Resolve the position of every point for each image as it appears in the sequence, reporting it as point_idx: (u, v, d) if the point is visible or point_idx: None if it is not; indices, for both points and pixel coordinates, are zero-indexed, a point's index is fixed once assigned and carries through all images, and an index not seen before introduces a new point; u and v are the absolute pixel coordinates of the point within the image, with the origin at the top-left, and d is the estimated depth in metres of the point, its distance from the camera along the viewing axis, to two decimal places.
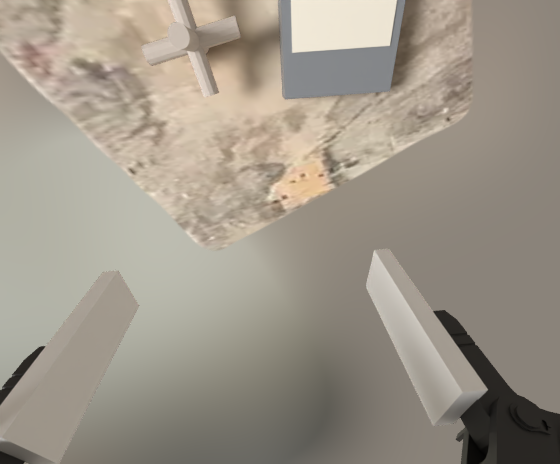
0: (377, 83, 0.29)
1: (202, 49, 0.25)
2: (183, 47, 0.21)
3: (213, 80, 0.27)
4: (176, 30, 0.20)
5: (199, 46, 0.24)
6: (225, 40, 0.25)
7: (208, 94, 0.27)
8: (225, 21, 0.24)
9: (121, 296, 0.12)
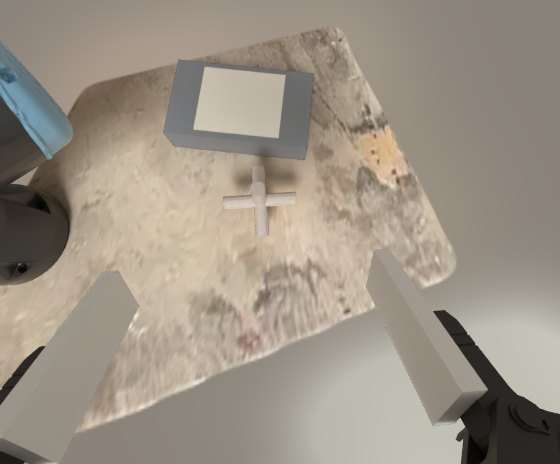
0: (307, 82, 0.38)
1: None
2: (264, 188, 0.29)
3: (286, 192, 0.34)
4: (254, 188, 0.29)
5: None
6: (263, 176, 0.34)
7: (294, 197, 0.33)
8: (253, 173, 0.34)
9: (121, 296, 0.12)
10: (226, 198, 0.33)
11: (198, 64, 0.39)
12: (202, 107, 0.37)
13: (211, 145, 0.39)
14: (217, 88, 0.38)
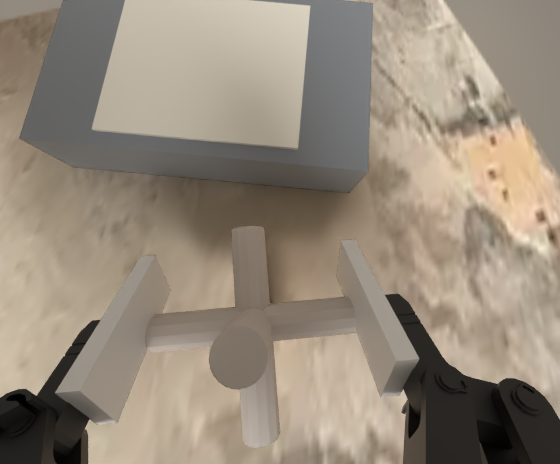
0: (359, 21, 0.17)
1: (270, 307, 0.12)
2: (265, 353, 0.07)
3: (325, 301, 0.12)
4: (226, 358, 0.07)
5: (264, 311, 0.12)
6: (263, 256, 0.13)
7: (353, 321, 0.11)
8: (235, 248, 0.12)
9: (158, 279, 0.13)
10: (156, 327, 0.11)
11: None
12: (117, 78, 0.16)
13: (146, 165, 0.17)
14: (154, 36, 0.16)
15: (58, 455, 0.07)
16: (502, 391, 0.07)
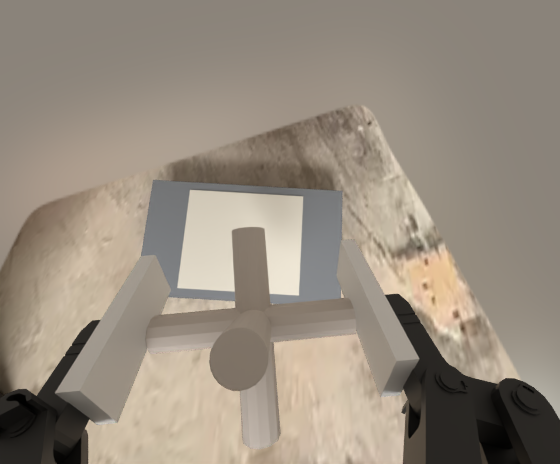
0: (333, 204, 0.27)
1: (270, 308, 0.12)
2: (265, 354, 0.07)
3: (325, 302, 0.12)
4: (227, 360, 0.07)
5: (265, 312, 0.12)
6: (263, 257, 0.13)
7: (353, 322, 0.11)
8: (236, 249, 0.12)
9: (158, 279, 0.13)
10: (157, 328, 0.11)
11: (181, 185, 0.28)
12: (189, 253, 0.26)
13: None
14: (208, 223, 0.27)
15: (58, 455, 0.07)
16: (502, 391, 0.07)
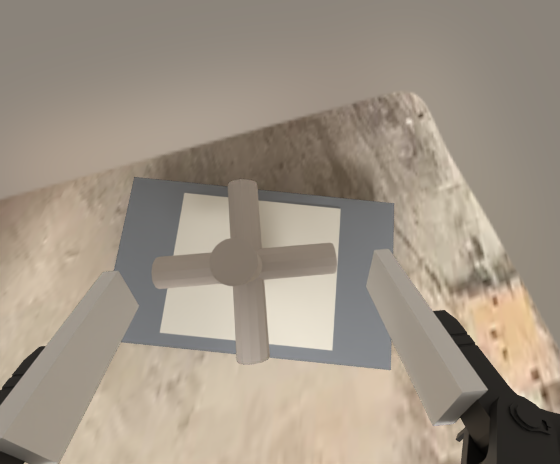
0: (382, 222, 0.20)
1: (261, 249, 0.14)
2: (255, 259, 0.09)
3: (310, 245, 0.14)
4: (223, 262, 0.09)
5: (256, 252, 0.13)
6: (256, 206, 0.14)
7: (333, 259, 0.13)
8: (231, 198, 0.14)
9: (121, 296, 0.12)
10: (161, 264, 0.13)
11: (173, 186, 0.20)
12: None
13: None
14: (208, 240, 0.19)
15: None
16: None
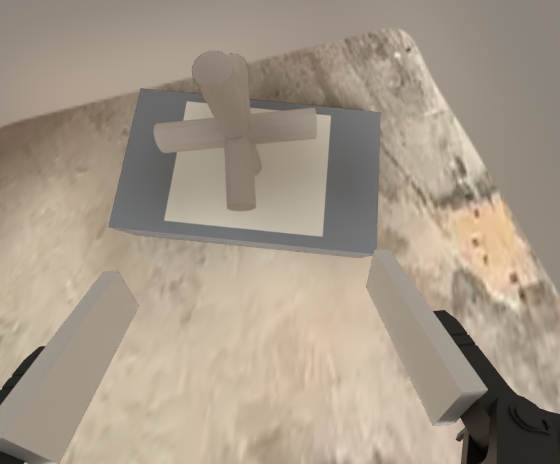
0: (369, 128, 0.21)
1: (249, 114, 0.15)
2: (230, 66, 0.11)
3: None
4: (203, 69, 0.11)
5: None
6: (245, 80, 0.16)
7: (313, 117, 0.14)
8: None
9: (121, 296, 0.12)
10: (162, 125, 0.15)
11: (176, 96, 0.22)
12: (181, 178, 0.20)
13: (199, 239, 0.22)
14: None
15: None
16: None
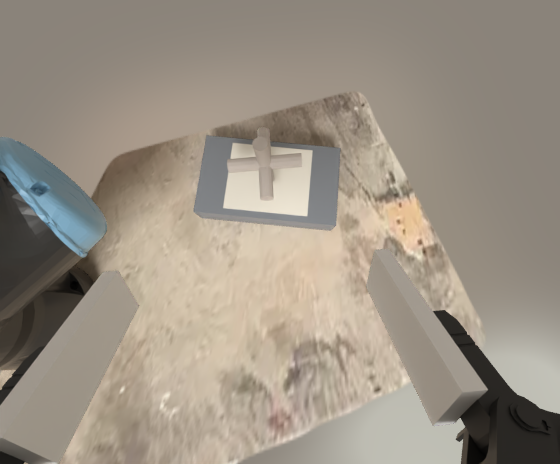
0: (334, 157, 0.39)
1: (270, 155, 0.32)
2: (267, 143, 0.28)
3: (291, 154, 0.32)
4: (256, 144, 0.28)
5: None
6: (268, 139, 0.33)
7: (300, 158, 0.32)
8: (258, 135, 0.33)
9: (121, 296, 0.12)
10: (230, 160, 0.32)
11: (226, 139, 0.39)
12: (231, 185, 0.38)
13: (239, 219, 0.39)
14: None
15: None
16: None
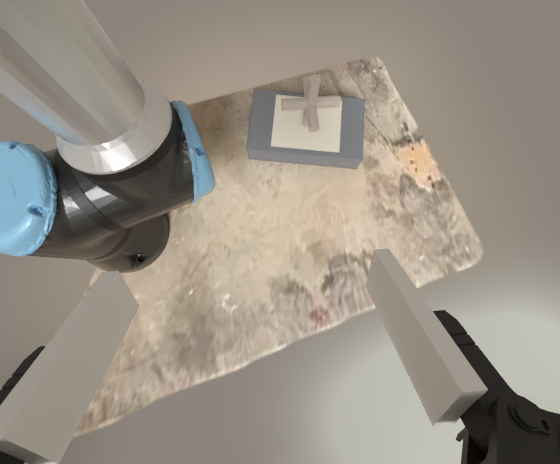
0: (359, 106, 0.47)
1: None
2: (320, 78, 0.36)
3: (331, 96, 0.41)
4: (312, 79, 0.36)
5: None
6: None
7: (339, 98, 0.40)
8: (305, 81, 0.41)
9: (121, 296, 0.12)
10: (284, 99, 0.40)
11: (271, 92, 0.47)
12: (276, 128, 0.46)
13: (282, 158, 0.47)
14: (287, 112, 0.47)
15: None
16: None
